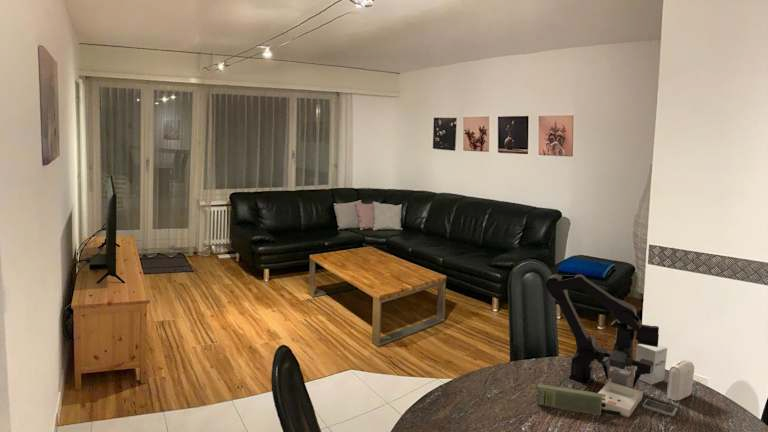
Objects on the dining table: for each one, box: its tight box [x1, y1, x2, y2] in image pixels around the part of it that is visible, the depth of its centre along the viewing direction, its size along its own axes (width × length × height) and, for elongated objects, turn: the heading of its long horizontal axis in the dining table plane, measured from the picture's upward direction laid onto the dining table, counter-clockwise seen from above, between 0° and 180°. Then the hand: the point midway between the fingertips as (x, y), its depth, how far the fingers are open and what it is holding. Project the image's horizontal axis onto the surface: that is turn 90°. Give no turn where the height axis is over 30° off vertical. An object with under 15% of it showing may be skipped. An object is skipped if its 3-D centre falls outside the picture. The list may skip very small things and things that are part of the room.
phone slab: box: [642, 398, 678, 418], centre depth 166 cm, size 5×9×1 cm, turn 50°
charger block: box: [610, 367, 632, 388], centre depth 180 cm, size 5×5×6 cm
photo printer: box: [666, 359, 695, 402], centre depth 174 cm, size 10×4×12 cm, turn 123°
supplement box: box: [633, 343, 668, 386], centre depth 186 cm, size 7×7×13 cm
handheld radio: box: [536, 383, 622, 417], centre depth 164 cm, size 7×3×25 cm
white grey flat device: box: [597, 380, 644, 418], centre depth 170 cm, size 11×16×3 cm
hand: (620, 383), depth 180 cm, fingers open, 8 cm apart
